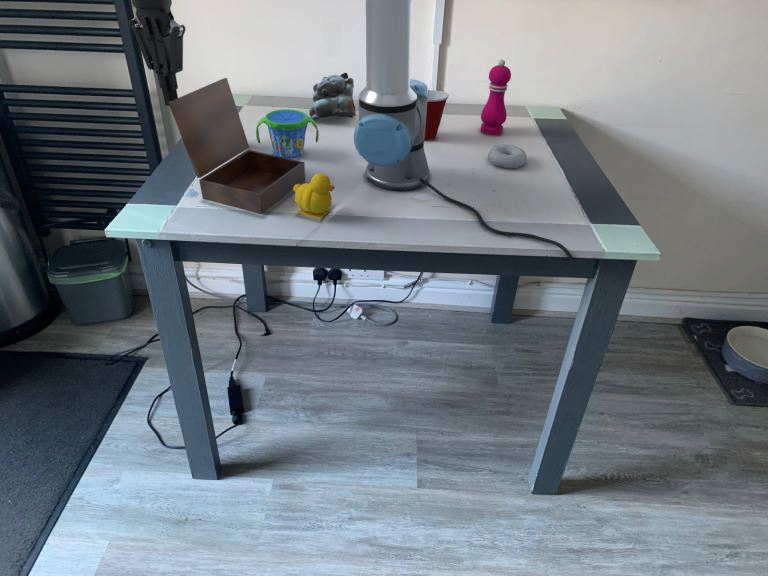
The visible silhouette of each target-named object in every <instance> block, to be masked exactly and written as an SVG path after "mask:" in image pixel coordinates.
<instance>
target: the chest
mask: <svg viewBox="0 0 768 576" xmlns="http://www.w3.org/2000/svg"><path fill="white" fill-rule="evenodd" d="M305 181H306V166H305V161H301V160H296V159H294V158H284V157H280V156H276V155H275V154H270V153H266V152H261V151H258V150H253V149H246V150H245V151H243V152H241V153H240V154H238V155H236V156H235V157H233V158H232V159H230V160H228V161H227V162H225V163H223V164H222V165H220V166H219V167H217V168H215V169H214V170H212V171H211V172H209V173H207V174H206V175H204V176H202V177H201V178H199V186H200V191H201V197H202V199H203V200H206V201H210V202H213V203H216V204H220V205H224V206H229V207H232V208H236V209H240V210H242V211H247V212H251V213H255V214H259V215H264V214H265V213H266V212H267V211H268V210H269V209H271V208H272V207H273V206H275V205H276V204H277V203H278V202H280V201H281V200H283V199H284V198H285V197H287V195H288V194H290V193H291V192H292V191H294V190H293V188H294V186H295V185H296V184H300V185H302V184H303V182H305Z"/></svg>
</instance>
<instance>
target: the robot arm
mask: <svg viewBox="0 0 768 576" xmlns="http://www.w3.org/2000/svg"><path fill="white" fill-rule="evenodd" d="M130 1H131V5H132V6H133V7H134V8H135V17H134V18H133V19H129V20H127V22H128V26H129V27H130V29H131V30H132V32H133V34H134V36H135V39H136V41H137V44H138V47H139V49H140V52H141V55H142V56H143V59H144V62H145V64H146V67H147V69H148V70H152V71H154V73H155V74H156V76H157V80H158V85H159V88H160V89H161V93H162V95H163V101H164V106H167V107H170V106H169V103H168V102H170V101H172V100H175V99H177V98H179V95H178V89H179V85H178V80H177V73H180V72H182V71H183V69H184V36H185V32H186V29H187V28H186V26H185V25H184V24H179V23H177V21H176V20H175V16H174V14H173V13H172V9H171V7H172V5H173V1H172V0H130ZM413 7H414V0H365V75H366V76H365V78H366V79H365V87H364V88H363V89H362V90H361V91H360V92H359V93H358V122H357V123H356V125H355V128H354V131H353V144H354V147H355V150H356V152H357V153H358V155H359V157H362V158H363V159H364V160H365V161H366V162H367V165H366V168H365V169H366V170H365V171H366V173H365V174H366V180H367V181H368V182H369V183H371V184H372V185H374V186H376V187H378V188H381V189H385V190H390V191H411V190H415V189H419V188H421V187H424V186H427V187H428V188H429V189H431V190H432V191H433V192H434V193H436V194H437V195H438V196H439V197H442V199H445V200H447V201H449V202H451V203H453V204H455V205H458V206H461V207H463V208H466V209H468V210H469V211H471V212H473V213H474V214H475V216H476V218H477V219H478V220H479V222H480V224H481V225H482V226H483V227H484V228H485V229H487V230H489V231H490V232H492V233H495V234H498V235H503V236H510V237H511V236H513V237H525V238H530V239H533V240H537V241H540V242H545V243H548V244H551V245H554V246H557V247H558V248H559V249H561V250H562V252H564V253H565V255H566V257H567V258H568V259H569V260H571V261H572V260H574V258H573V256H572V254H571V252H570V251H569V250H568V249H567V247H565V245H564V244H562V243H560V242H558V241H556V240H553V239H549V238H546V237H542V236H539V235H536V234H533V233H532V234H531V233H525V232H514V231H504V230H499V229H496V228H494V227H492V226H490V225H488V224H487V223H486V222H485V221H484V219H483V217H482V215H481V214H480V213H479V211H478V210H476V208H474V207H472V206H471V205H469V204H467V203H464V202H462V201H459V200H456V199H455V198H452V197H450V196H448V195H446V194H444V193H442V192H441V191H440V190H438V188H436V187H435V186H433V185H432V184H431V183H429V179H430V178H429V177H430V168H429V164H428V160H427V156H426V151H425V140H424V136H425V124H426V111H427V99H428V90H429V88H428V85H427V83H426V82H424V81H422V80H418V79H413V78H411V67H412V66H411V63H412V62H411V61H412V39H413V38H412V37H413V36H412V35H413V12H414V11H413V10H414V8H413Z"/></svg>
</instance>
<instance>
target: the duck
mask: <svg viewBox="0 0 768 576" xmlns="http://www.w3.org/2000/svg"><path fill="white" fill-rule="evenodd" d="M335 187H336V186H335V185H333V184H332V183H331V180H330V177H329V176H327V175H326V174H324V173H316V174H314V175H313V176H312V178H311V179H310V182H305V183H301V184H296V185H295V186H294V188H293V190H292V191H293V192H294V193H295V194H294V201H295V203H296V205H297V207H298V208H299V210H298V211H297V214H300V215H303V216H307V217H311V218H315V219H320V222H322V221H323V220H324V219H325V218H326V217H327V216H328V215H329V214H330V213H331V208H330V207H331V205H332V202H333V201H332V200H333V199H332V194H331V192H333V191H334V190H335Z"/></svg>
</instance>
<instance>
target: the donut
mask: <svg viewBox="0 0 768 576" xmlns="http://www.w3.org/2000/svg"><path fill="white" fill-rule="evenodd" d="M527 155H528V154H527V153H526V151H525V150H524V149H523V148H521V147H519V146H517V145H513V144H504V143H503V144H497V145H494V146H492V147H491V148H490V149H489V151H487V158H488V160H489V162H490V163H491V164H492V165H494V166H496V167H499V168H503V169H517V168H520V167H522V166H523V165H525V164H526V162H527V159H528V156H527Z"/></svg>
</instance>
